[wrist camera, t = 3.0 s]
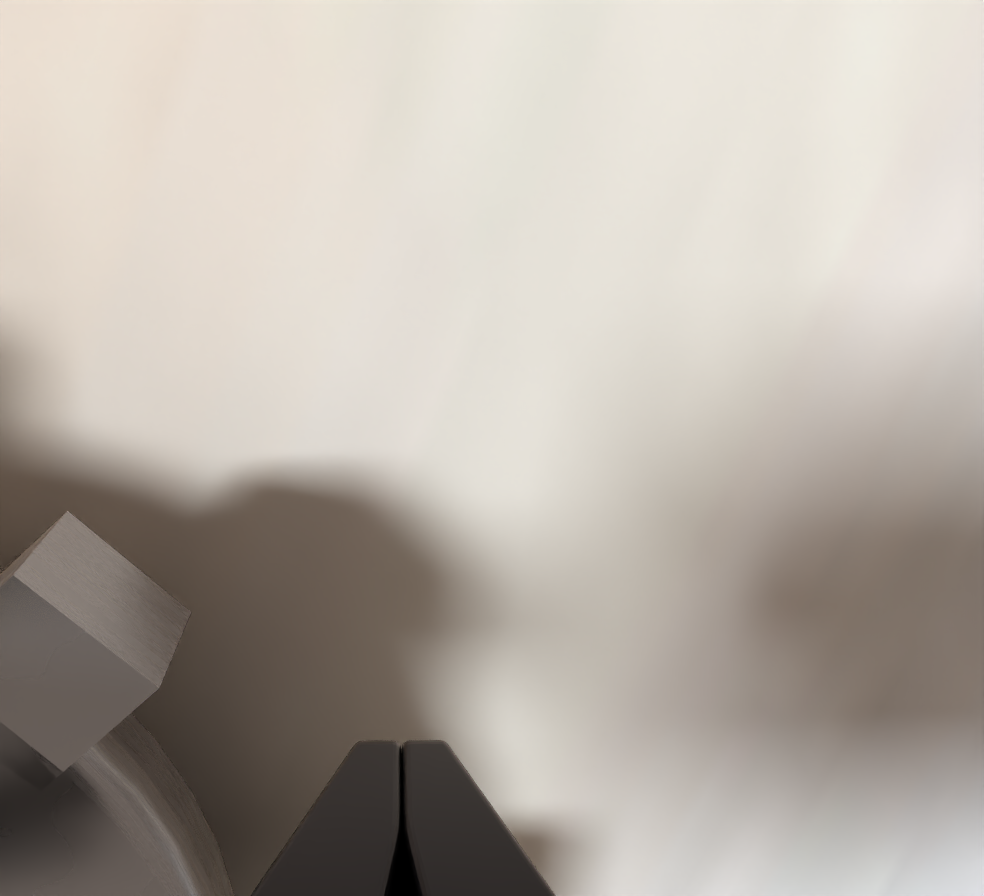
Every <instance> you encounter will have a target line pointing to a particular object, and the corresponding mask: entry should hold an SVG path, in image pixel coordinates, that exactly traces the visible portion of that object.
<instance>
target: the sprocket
mask: <svg viewBox="0 0 984 896" xmlns="http://www.w3.org/2000/svg"><path fill="white" fill-rule="evenodd" d="M190 614H191V612H190V611H189V610H188V609H187V608H186V607H184V606H183V605H182V604H181V603H180V602H178V601H177V600H176V599H175V598H173V597H172V596H171V595H170V594H169V593H167V592H166V591H165V590H164V589H162V588H161V587H160V586H159V585H158V584H156V583H155V582H154V581H153V580H151V579H150V578H149V577H148V576H147V575H145V574H144V573H143V572H142V571H141V570H139V569H138V568H137V567H136V566H134V565H133V564H132V563H131V562H130V561H128V560H127V559H126V558H125V557H123V556H122V555H121V554H120V553H119V552H117V551H116V550H115V549H114V548H113V547H111V546H110V545H109V544H108V543H106V542H105V541H104V540H103V539H102V538H100V537H99V536H98V535H97V534H95V533H94V532H93V531H92V530H91V529H89V528H88V527H87V526H86V525H84V524H83V523H82V522H81V521H80V520H78V519H77V518H76V517H75V516H74V515H72V514H71V513H70V512H69V511H67V512H66V513H65V514H64V515H62V516H61V517H60V518H59V519H58V520H57V521H56V522H55V523H54V524H53V525H52V526H51V527H50V528H49V529H48V530H46V531H45V532H44V533H43V534H42V535H41V536H40V537H39V538H38V539H37V540H36V541H35V542H34V543H33V544H32V545H31V546H29V547H28V548H27V549H26V550H25V551H24V552H23V553H22V554H21V555H20V556H19V557H18V558H17V559H16V560H15V561H13V562H12V563H11V564H10V565H9V566H8V567H7V568H6V569H5V570H4V571H3V572H2V573H1V574H0V896H234V893H233V890H232V886H231V883H230V880H229V877H228V873H227V870H226V867H225V864H224V860H223V857H222V854H221V851H220V848H219V845H218V843H217V841H216V839H215V837H214V835H213V833H212V831H211V829H210V827H209V825H208V823H207V821H206V819H205V817H204V815H203V813H202V811H201V809H200V807H199V805H198V803H197V801H196V799H195V796H194V794H193V793H192V791H191V790H190V788H189V787H188V785H187V784H186V782H185V781H184V780H183V778H182V777H181V775H180V774H179V772H178V771H177V770H176V768H175V767H174V765H173V764H172V762H171V761H170V759H169V758H168V757H167V755H166V754H165V752H164V751H163V749H162V748H161V746H160V745H159V744H158V742H157V741H156V739H155V738H154V737H153V736H152V735H151V734H150V733H149V732H148V731H147V729H146V728H145V727H144V726H143V725H142V724H141V723H140V722H139V721H138V720H137V719H136V717H135V716H134V715H133V714H132V712H133V711H134V710H135V709H136V708H137V707H138V706H140V705H141V704H142V703H143V702H144V701H145V700H146V699H148V698H149V697H150V696H151V695H152V694H153V693H155V692H156V691H157V690H158V689H159V688H160V685H161V683H162V681H163V678H164V676H165V674H166V671H167V669H168V667H169V664H170V662H171V659H172V657H173V655H174V652H175V650H176V648H177V645H178V643H179V640H180V638H181V636H182V633H183V631H184V629H185V626H186V624H187V622H188V619H189V617H190Z"/></svg>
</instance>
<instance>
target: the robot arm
mask: <svg viewBox="0 0 984 896" xmlns="http://www.w3.org/2000/svg"><path fill="white" fill-rule="evenodd" d="M251 896H556V895H555V894H554V893H553V891H552V890H551V888H550V887H549V886H548V884H547V883H546V881H545V880H544V879H543V877H542V876H541V874H540V873H539V872H538V870H537V869H536V867H535V866H534V865H533V863H532V862H531V860H530V859H529V858H528V856H527V855H526V853H525V852H524V851H523V849H522V848H521V846H520V845H519V843H518V842H517V841H516V839H515V838H514V836H513V835H512V834H511V832H510V831H509V829H508V828H507V827H506V825H505V824H504V822H503V821H502V820H501V818H500V817H499V815H498V814H497V813H496V811H495V810H494V808H493V807H492V806H491V804H490V803H489V801H488V800H487V798H486V797H485V796H484V794H483V793H482V791H481V790H480V789H479V787H478V786H477V784H476V783H475V782H474V780H473V779H472V777H471V776H470V775H469V773H468V772H467V770H466V769H465V768H464V766H463V765H462V763H461V762H460V761H459V759H458V758H457V756H456V755H455V754H454V752H453V751H452V749H451V748H450V747H449V745H448V744H447V743H446V742H444V741H441V740H409V741H406V742H405V743H404V744H403V745H402V749H401V746H400V744H399V743H398V742H397V741H394V740H371V741H359V742H358V743H356V744H355V745H354V747H353V748H352V749H351V751H350V752H349V754H348V755H347V756H346V758H345V759H344V761H343V762H342V764H341V765H340V767H339V768H338V769H337V771H336V772H335V774H334V775H333V777H332V778H331V780H330V781H329V783H328V784H327V785H326V787H325V788H324V790H323V791H322V793H321V794H320V796H319V797H318V798H317V800H316V801H315V803H314V804H313V806H312V807H311V809H310V810H309V812H308V813H307V814H306V816H305V817H304V819H303V820H302V822H301V823H300V825H299V826H298V827H297V829H296V830H295V832H294V833H293V835H292V836H291V838H290V839H289V841H288V842H287V843H286V845H285V846H284V848H283V849H282V851H281V852H280V854H279V855H278V856H277V858H276V859H275V861H274V862H273V864H272V865H271V867H270V868H269V869H268V871H267V872H266V874H265V875H264V877H263V878H262V880H261V881H260V883H259V884H258V885H257V887H256V888H255V890H254V891H253V893H252V894H251Z"/></svg>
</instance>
